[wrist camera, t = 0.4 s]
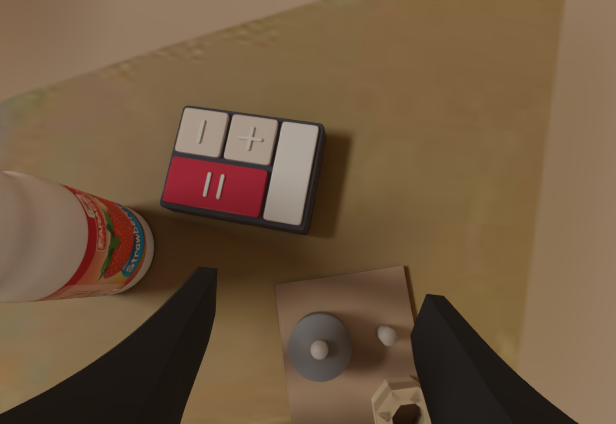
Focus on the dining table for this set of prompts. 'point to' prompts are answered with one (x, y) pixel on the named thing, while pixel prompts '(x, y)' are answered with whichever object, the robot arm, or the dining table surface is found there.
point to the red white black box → (245, 168)
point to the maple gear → (398, 399)
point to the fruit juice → (66, 242)
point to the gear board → (366, 347)
